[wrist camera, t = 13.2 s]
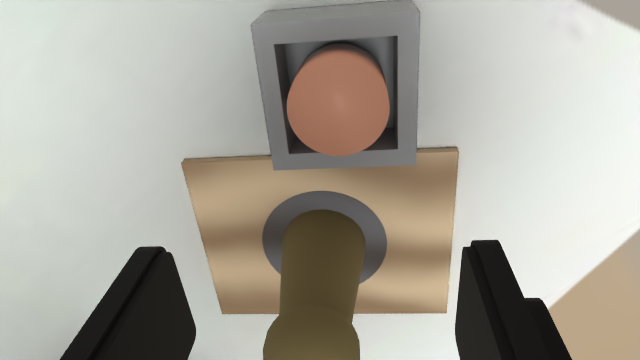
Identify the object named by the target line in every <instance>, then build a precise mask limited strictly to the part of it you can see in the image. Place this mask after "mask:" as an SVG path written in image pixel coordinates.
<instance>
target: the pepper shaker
mask: <svg viewBox="0 0 640 360" xmlns="http://www.w3.org/2000/svg"><path fill="white" fill-rule="evenodd" d="M365 250H366V242H365V236H364V234H363V232H362V230H361V228H360V227H359V226H358V224H357V223H356V222H355V221H354V220H353V219H351V218H350V217H348V216H346V215H344V214H342V213H340V212H336V211H332V210H328V209H322V210H311V211H308V212H305V213H301V214H300V215H298V216H297V217H295V218H294V219H292V220H291V221H290V223H289V224H288V225H287V227H286V228H285V230H284V234H283V238H282V257H281V283H280V309H279V316H278V317H277V318H276V319H275V321H274V322H273V323H272V325H271V326H270V328H269V330H268V332H267V336H266V340H265V344H264V348H263V360H360V345H359V339H358V336H357V333H356V331H355V329H354V327H353V325H352V319H353V314H354V309H355V303H356V298H357V293H358V287H359V282H360V277H361V271H362V266H363V261H364V255H365Z"/></svg>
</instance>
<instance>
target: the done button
mask: <svg viewBox="0 0 640 360" xmlns="http://www.w3.org/2000/svg"><path fill="white" fill-rule="evenodd" d="M389 109H390V105H389V97H388V91H387V85H386V80H385V76H384V73H383V70H382V68H381V66H380V65H379V63H378V62H377V61H376V59H375V58H374V57H373V56H372V55H371V54H369V53H368V52H367V51H365V50H363V49H362V48H359V47H357V46H354V45H350V44H344V43H337V44H330V45H327V46H324V47H321V48H319V49H317V50H316V51H314V52H313V53H311V54H310V55H309V56H308V57H307V58H306V59H305V60H304V61H303V63H302V64H301V66H300V68H299V70H298V72H297V74H296V77H295V79H294V81H293V84H292V86H291V88H290V91H289V94H288V98H287V115H288V120H289V122H290V125H291V127H292V129H293V131H294V133H295V134H296V136H297V137H298V138H299V139H300V140H301V141H302V142H303V143H304V144H305V145H307V146H308V147H310V148H311V149H313V150H315V151H317V152H320V153H322V154H326V155H332V156H346V155H351V154H355V153H358V152H360V151H362V150H364V149H366V148H367V147H369V146H370V145H372V144H373V143H374V142H375V141H376V140H377V139H378V138H379V137H380V135H381V134H382V132H383V131H384V129H385V127H386V124H387V121H388V117H389Z"/></svg>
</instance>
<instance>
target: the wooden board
mask: <svg viewBox="0 0 640 360" xmlns="http://www.w3.org/2000/svg"><path fill="white" fill-rule="evenodd" d="M458 157H459V151H458V148H457V147H454V148H431V149H417V152H416V165H402V166H377V167H352V168H326V169H301V170H276V171H274V170H273V164H272V158H271V156H248V157H225V158H202V159H184V160H183V162H182V163H181V165H182V168H183V172H184V176H185V179H186V183H187V187H188V190H189V194H190V198H191V201H192V205H193V209H194V212H195V216H196V220H197V223H198V227H199V231H200V234H201V238H202V241H203V245H204V249H205V252H206V256H207V260H208V263H209V267H210V271H211V274H212V278H213V282H214V285H215V289H216V293H217V296H218V300H219V304H220V307H221V311H222V314H279V309H280V283H281V257H282V238H283V234H284V230H285V228H286V227H287V225H288V224H289V223H290V221H291V220H292V219H294V218H295V217H297V216H298V215H300V214H301V213H305V212H308V211H311V210H322V209H328V210H332V211H336V212H340V213H342V214H344V215H346V216H348V217H350V218H351V219H353V220H354V221H355V222H356V223H357V224H358V226H359V227H360V228H361V230H362V232H363V234H364V236H365V242H366V250H365V255H364V261H363V266H362V271H361V277H360V282H359V287H358V293H357V298H356V303H355V309H354V314H368V313H447V300H448V287H449V274H450V261H451V248H452V235H453V222H454V209H455V196H456V183H457V170H458Z"/></svg>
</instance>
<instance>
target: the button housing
mask: <svg viewBox="0 0 640 360" xmlns="http://www.w3.org/2000/svg"><path fill="white" fill-rule="evenodd" d="M419 26H420V11H419V10H418V8H417V7H416V6H415V4H414V3H413V1H412V0H396V1H384V2H371V3H359V4H346V5H334V6H322V7H309V8H297V9H284V10H272V11H265V12H264V13H263V14H262V15H261V16H260V17H259V18H257V19H256V20H255V21H254V22H253V23H252V24H251V31H252V37H253V44H254V50H255V56H256V63H257V69H258V75H259V82H260V88H261V94H262V101H263V107H264V113H265V120H266V126H267V132H268V139H269V145H270V151H271V158H272V164H273V170H274V171H276V170H301V169H326V168H352V167H377V166H402V165H416V152H417V110H418V68H419ZM337 43H344V44H350V45H354V46H357V47H359V48H362V49H363V50H365V51H367V52H368V53H369V54H371V55H372V56H373V57H374V58H375V59H376V61H377V62H378V63H379V65H380V66H381V68H382V70H383V73H384V76H385V80H386V85H387V91H388V97H389V105H390V109H389V117H388V121H387V124H386V127H385V129H384V131H383V132H382V134H381V135H380V137H379V138H378V139H377V140H376V141H375V142H374V143H373V144H372V145H370V146H369V147H367V148H366V149H364V150H362V151H360V152H358V153H355V154H351V155H346V156H332V155H326V154H322V153H320V152H317V151H315V150H313V149H311V148H310V147H308V146H307V145H305V144H304V143H303V142H302V141H301V140H300V139H299V138H298V137H297V136H296V134H295V133H294V131H293V129H292V127H291V125H290V122H289V120H288V115H287V98H288V94H289V91H290V88H291V86H292V84H293V81H294V79H295V77H296V74H297V72H298V70H299V68H300V66H301V64H302V63H303V61H304V60H305V59H306V58H307V57H308V56H309V55H310V54H311V53H313V52H314V51H316V50H317V49H319V48H321V47H324V46H327V45H330V44H337Z"/></svg>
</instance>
